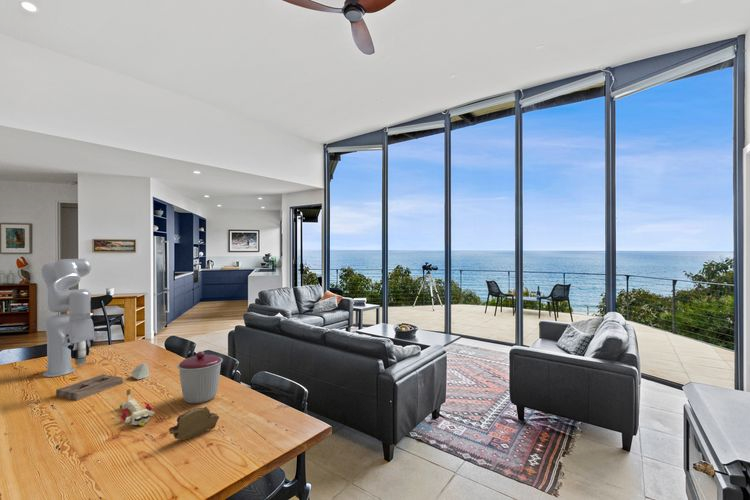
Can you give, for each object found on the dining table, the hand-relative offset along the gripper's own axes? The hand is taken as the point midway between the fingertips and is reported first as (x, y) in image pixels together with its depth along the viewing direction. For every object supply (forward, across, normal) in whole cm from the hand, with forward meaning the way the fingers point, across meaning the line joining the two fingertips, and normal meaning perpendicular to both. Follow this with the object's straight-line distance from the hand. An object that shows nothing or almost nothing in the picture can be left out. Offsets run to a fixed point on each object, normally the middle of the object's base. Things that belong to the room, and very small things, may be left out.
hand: (80, 356), depth 158 cm
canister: (+18, -13, +57) cm, 62 cm away
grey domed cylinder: (+4, 0, 0) cm, 4 cm away
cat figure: (+18, +8, +45) cm, 49 cm away
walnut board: (+17, -5, -1) cm, 18 cm away
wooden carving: (+19, +12, +79) cm, 83 cm away
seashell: (+18, -23, +7) cm, 30 cm away
